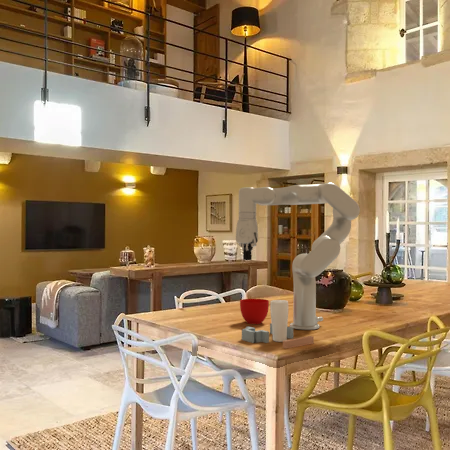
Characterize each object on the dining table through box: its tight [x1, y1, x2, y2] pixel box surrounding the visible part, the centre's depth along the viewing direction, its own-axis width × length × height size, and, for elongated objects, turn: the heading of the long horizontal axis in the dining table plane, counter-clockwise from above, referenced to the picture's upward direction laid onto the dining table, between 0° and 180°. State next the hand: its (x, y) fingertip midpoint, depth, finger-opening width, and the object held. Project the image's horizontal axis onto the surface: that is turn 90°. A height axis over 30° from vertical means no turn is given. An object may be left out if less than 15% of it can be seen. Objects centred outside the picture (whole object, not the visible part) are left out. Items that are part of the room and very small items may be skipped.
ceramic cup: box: [239, 298, 270, 325], centre depth 233 cm, size 13×17×10 cm
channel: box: [241, 322, 315, 349], centre depth 195 cm, size 18×23×4 cm
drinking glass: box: [269, 299, 289, 343], centre depth 195 cm, size 7×7×15 cm
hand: (247, 259), depth 218 cm, fingers closed
